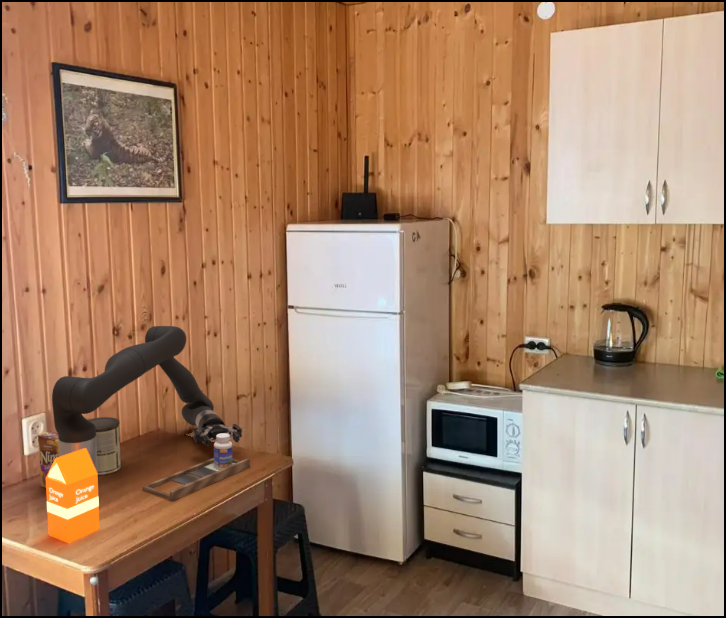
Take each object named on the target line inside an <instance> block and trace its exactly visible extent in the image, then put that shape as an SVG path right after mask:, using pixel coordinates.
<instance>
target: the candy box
mask: <svg viewBox="0 0 726 618" xmlns="http://www.w3.org/2000/svg"><path fill="white" fill-rule="evenodd" d="M37 442H38V445H37V446H38V457H39V469H40V471H39V472H40V485H41V487H42V488H45V489H46V477H47V474H48V472H49V470H50V468H51V466H52V464H53V462H54V460H55V458H58V457H59V440H58V433H57V432H55V431H51V430H47V431H44V432H42V433H39V434H38V435H37Z"/></svg>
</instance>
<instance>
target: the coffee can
mask: <svg viewBox="0 0 726 618" xmlns="http://www.w3.org/2000/svg"><path fill="white" fill-rule="evenodd" d="M87 420H88V421H90V422H92V423H93V424H94V425H95V427H96V444H97V469H98V476H99V475H101V476H103V475H109V474H112V473H115V472H117V471H119V470H120V469H121V467H122V465H121V464H122V463H121V448H120V447H121V445H120V444H121V443H120V442H121V441H120V439H121V438H120V419H118V418H116V417H109V416H102V417H94V418H90V419H87Z"/></svg>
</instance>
